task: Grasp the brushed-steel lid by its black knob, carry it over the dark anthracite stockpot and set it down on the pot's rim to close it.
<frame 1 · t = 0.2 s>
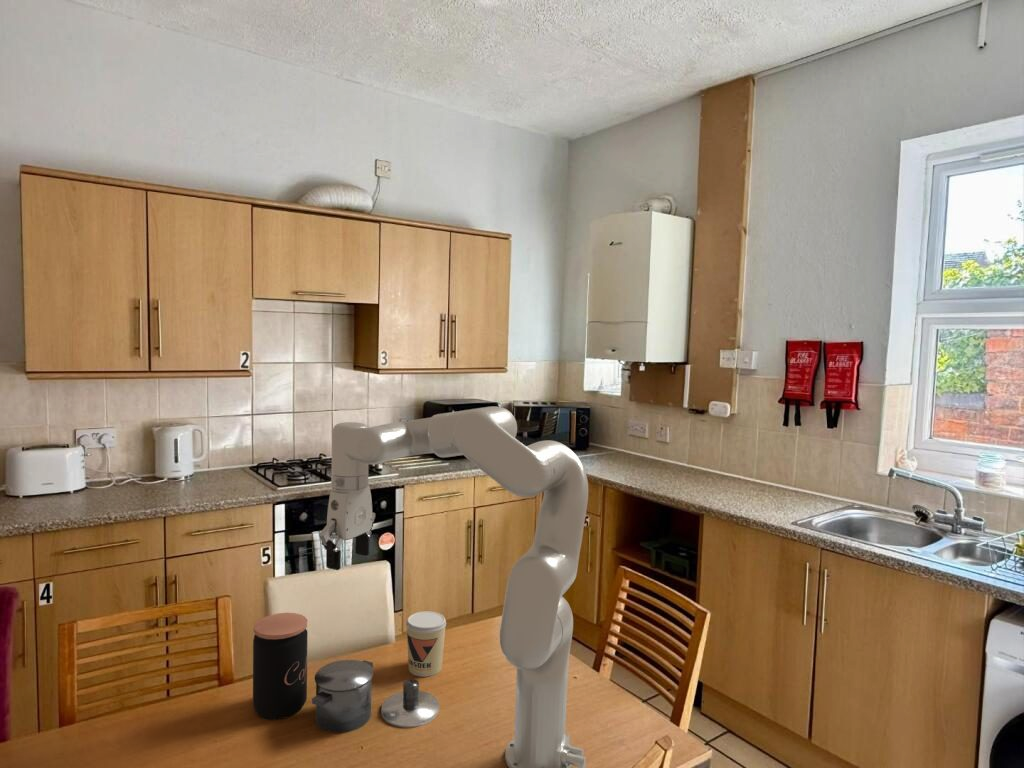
hand: (348, 561, 135), 30 cm above the table, tool pointing down, fingers open, 9 cm apart
pot: (343, 716, 131), on the table
coffee jar: (280, 707, 134), on the table
lid: (410, 711, 135), on the table
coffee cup: (425, 669, 152), on the table
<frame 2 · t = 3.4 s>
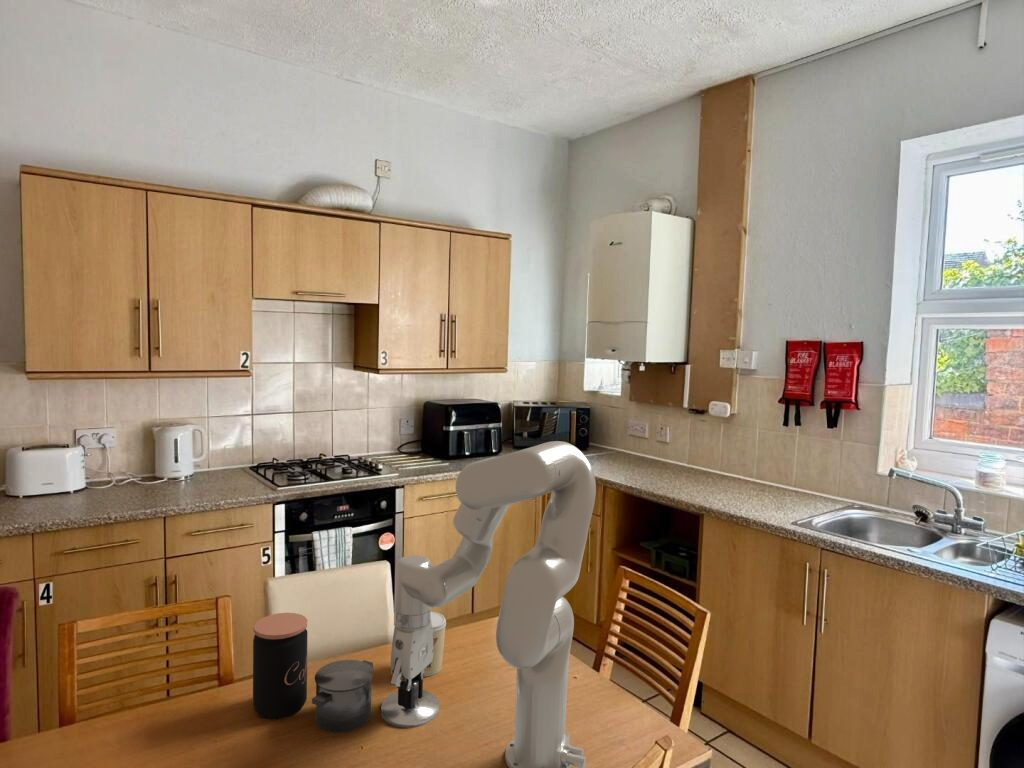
hand: (410, 700, 134), 2 cm above the table, tool pointing down, fingers closed on lid, 3 cm apart
lid: (410, 710, 135), on the table, touching gripper
everything else where it was.
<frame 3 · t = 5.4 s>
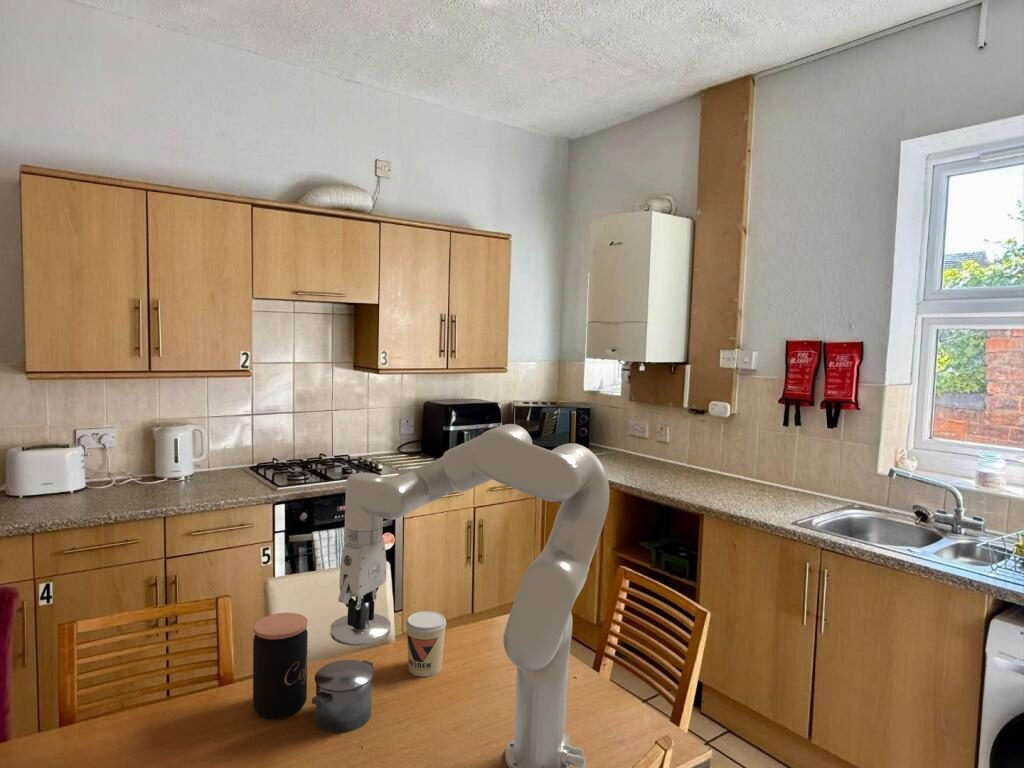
hand: (360, 621, 131), 20 cm above the table, tool pointing down, fingers closed on lid, 3 cm apart
lid: (360, 631, 131), point 18 cm above the table, touching gripper
everything else where it was.
when the fingers open (12 cm above the table, at t = 7.6 s): lid drops 1 cm, resting on pot.
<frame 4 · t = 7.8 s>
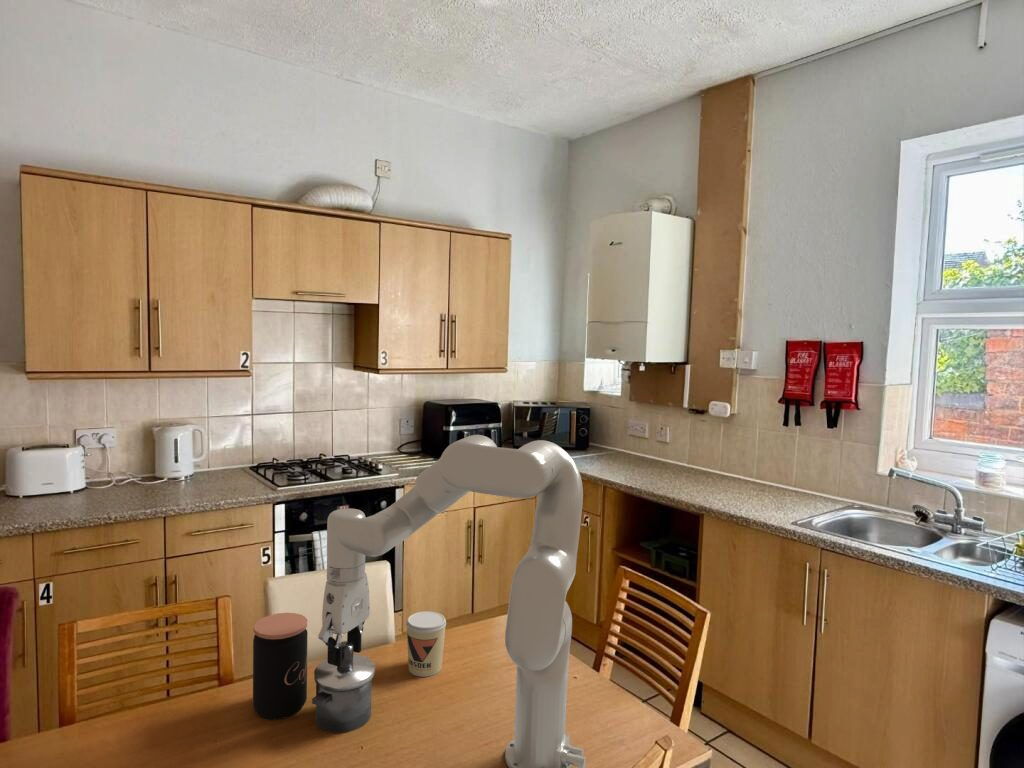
hand: (344, 656, 131), 13 cm above the table, tool pointing down, fingers open, 5 cm apart
lid: (344, 674, 131), point 9 cm above the table, touching pot
everything else where it was.
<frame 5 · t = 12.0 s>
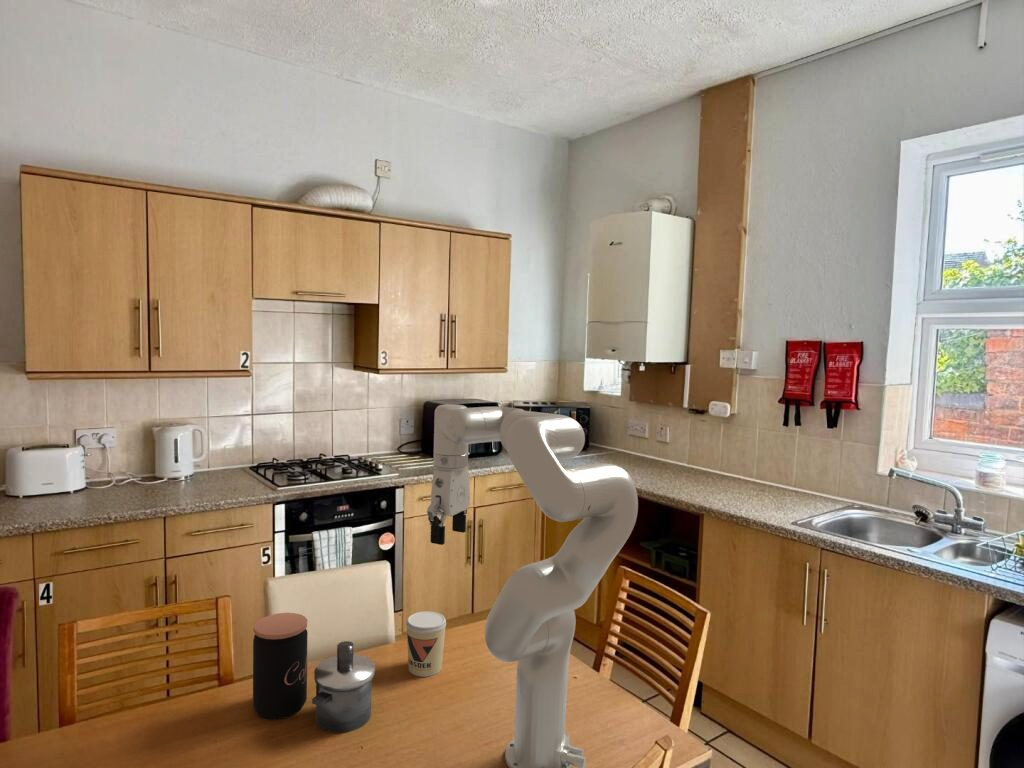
hand: (448, 537, 141), 34 cm above the table, tool pointing down, fingers open, 9 cm apart
nothing on the table moved.
at the end: lid 0.1 cm off-centre on the pot, point 9.0 cm above the pot's base; lid tilted 0°; the gripper is holding nothing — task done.
